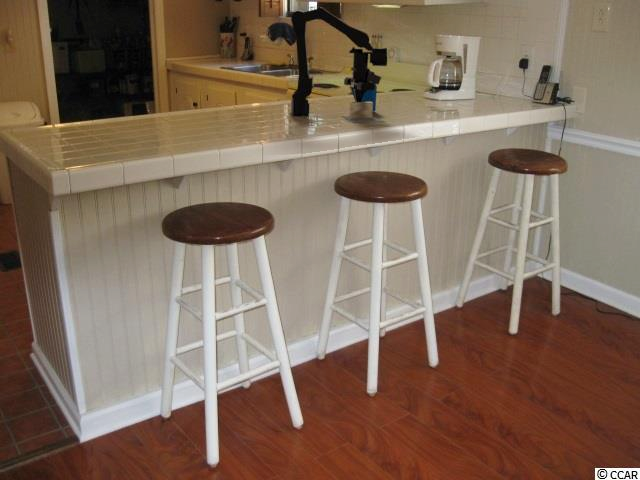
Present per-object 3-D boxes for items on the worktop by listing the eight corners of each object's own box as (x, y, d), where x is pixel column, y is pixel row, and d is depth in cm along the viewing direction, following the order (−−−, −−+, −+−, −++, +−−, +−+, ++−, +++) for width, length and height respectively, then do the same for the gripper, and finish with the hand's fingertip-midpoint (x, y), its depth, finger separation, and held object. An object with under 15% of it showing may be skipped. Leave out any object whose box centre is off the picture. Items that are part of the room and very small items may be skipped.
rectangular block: (351, 118, 249) (351, 102, 247) (349, 117, 251) (350, 102, 249) (372, 117, 252) (373, 102, 250) (370, 116, 254) (371, 101, 252)
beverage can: (377, 113, 265) (379, 84, 260) (362, 113, 263) (364, 84, 259) (372, 110, 271) (373, 82, 266) (357, 110, 269) (359, 82, 265)
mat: (354, 123, 241) (354, 122, 241) (341, 117, 253) (341, 116, 253) (385, 122, 245) (385, 121, 245) (371, 116, 257) (371, 115, 257)
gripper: (389, 67, 241) (386, 109, 247) (369, 62, 258) (367, 101, 263) (362, 68, 238) (360, 109, 243) (344, 63, 254) (342, 102, 260)
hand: (358, 105), depth 253 cm, fingers closed
